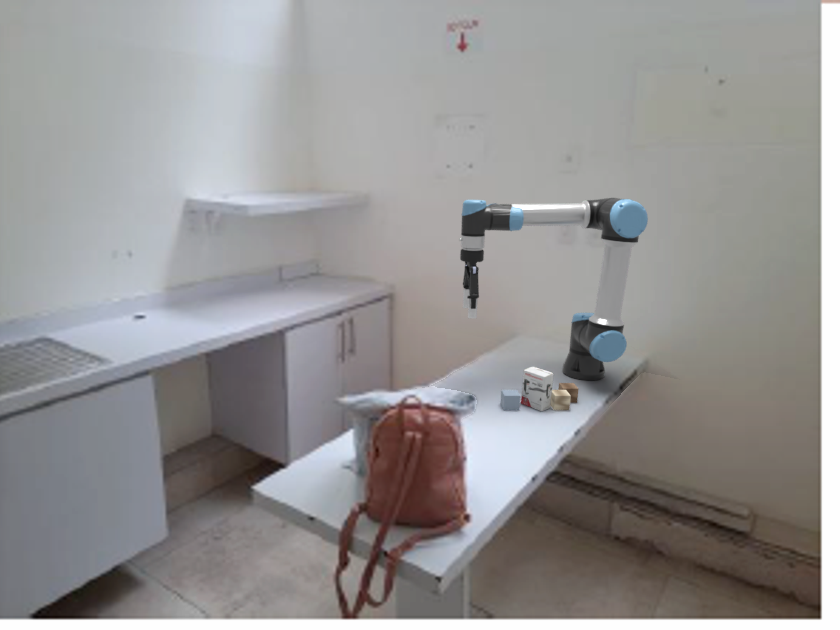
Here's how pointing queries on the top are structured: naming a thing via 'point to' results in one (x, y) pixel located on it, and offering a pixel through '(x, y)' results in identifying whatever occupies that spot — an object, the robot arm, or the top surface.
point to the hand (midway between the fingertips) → (469, 312)
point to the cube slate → (510, 400)
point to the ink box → (537, 388)
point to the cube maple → (560, 400)
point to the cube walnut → (570, 390)
